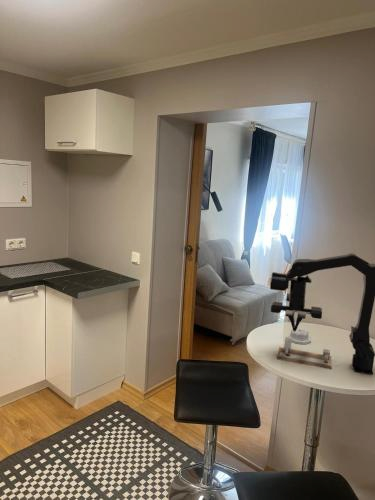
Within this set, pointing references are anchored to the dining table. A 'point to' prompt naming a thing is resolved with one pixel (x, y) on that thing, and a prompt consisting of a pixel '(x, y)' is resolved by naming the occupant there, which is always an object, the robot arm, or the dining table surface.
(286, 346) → the block
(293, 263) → the robot arm
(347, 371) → the dining table surface
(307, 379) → the dining table surface
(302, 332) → the mechanical component
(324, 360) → the board
